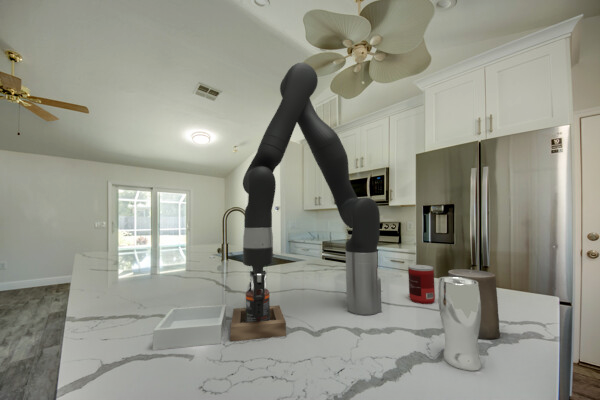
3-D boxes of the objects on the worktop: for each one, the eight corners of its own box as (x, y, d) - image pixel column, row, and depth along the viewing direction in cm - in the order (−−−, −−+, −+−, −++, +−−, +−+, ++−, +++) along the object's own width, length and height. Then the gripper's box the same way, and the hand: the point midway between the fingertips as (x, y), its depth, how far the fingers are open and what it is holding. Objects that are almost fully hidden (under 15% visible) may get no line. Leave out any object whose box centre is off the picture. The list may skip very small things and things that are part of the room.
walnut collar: (279, 316, 72) (279, 305, 72) (285, 335, 60) (285, 322, 60) (233, 320, 69) (233, 308, 70) (230, 341, 57) (230, 327, 57)
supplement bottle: (272, 323, 67) (272, 279, 68) (265, 333, 61) (265, 284, 62) (251, 322, 68) (251, 278, 69) (241, 331, 62) (241, 283, 63)
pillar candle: (503, 330, 62) (498, 266, 63) (496, 344, 55) (490, 272, 56) (457, 320, 69) (454, 262, 70) (446, 331, 62) (442, 267, 63)
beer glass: (433, 353, 52) (429, 276, 53) (465, 351, 52) (462, 276, 53) (457, 373, 45) (452, 285, 46) (494, 371, 45) (489, 284, 47)
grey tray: (225, 319, 70) (226, 304, 70) (220, 343, 56) (221, 324, 57) (171, 324, 67) (171, 308, 67) (152, 350, 54) (153, 330, 54)
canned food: (436, 299, 86) (434, 265, 87) (433, 306, 80) (432, 269, 81) (411, 295, 91) (410, 263, 91) (407, 301, 84) (406, 267, 85)
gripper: (275, 247, 60) (275, 320, 59) (270, 242, 74) (270, 300, 73) (242, 248, 58) (241, 322, 57) (243, 243, 72) (242, 302, 71)
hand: (257, 310), depth 65 cm, fingers open, 8 cm apart
